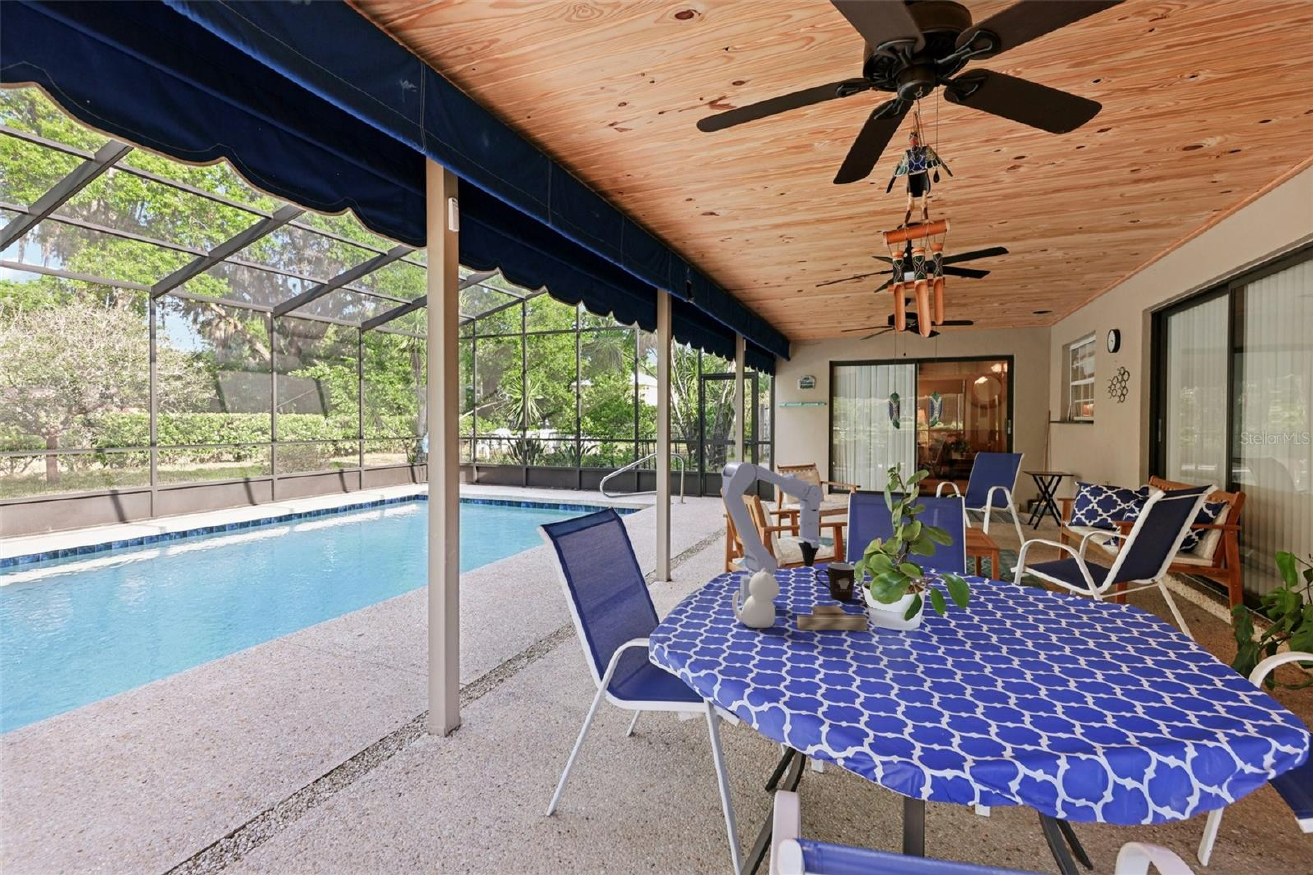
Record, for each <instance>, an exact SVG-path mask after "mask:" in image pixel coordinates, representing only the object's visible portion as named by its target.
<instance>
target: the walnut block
mask: <svg viewBox="0 0 1313 875" xmlns="http://www.w3.org/2000/svg"><path fill="white" fill-rule="evenodd" d="M812 616H846V612H845V611H844V610H843V609H842V608H841V607H839V606H838V605H812Z"/></svg>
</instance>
